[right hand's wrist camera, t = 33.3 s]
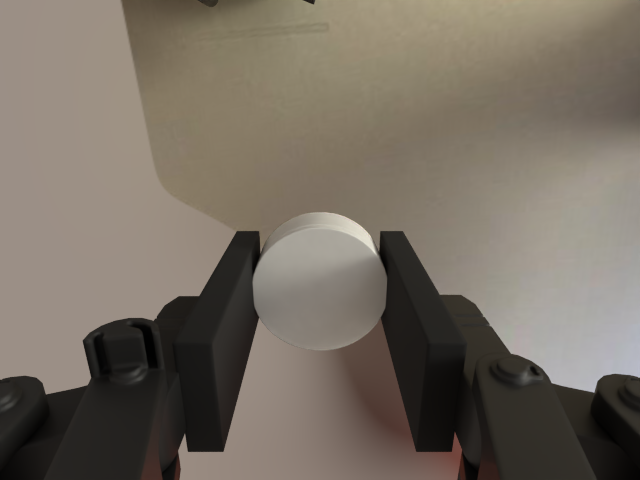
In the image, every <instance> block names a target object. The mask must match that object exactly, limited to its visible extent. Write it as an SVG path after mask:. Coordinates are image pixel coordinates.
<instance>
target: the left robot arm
mask: <svg viewBox="0 0 640 480" xmlns="http://www.w3.org/2000/svg"><path fill="white" fill-rule="evenodd" d="M198 1H200V2H202V3H203V4H205V5H207V6H209V7H213V6H215V5H216V4H217V2H218V0H198ZM304 1H306V2H309V3H311V4H314V2H315V0H304Z"/></svg>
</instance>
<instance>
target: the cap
mask: <svg viewBox="0 0 640 480" xmlns="http://www.w3.org/2000/svg"><path fill="white" fill-rule="evenodd" d="M386 291H387V274H386V271H385V268H384V265H383V262H382V259H381V257H380V254H379V251H378V249H377V246H376V244H375V242H374V241H373V239H372V238H371V236H370V235H369V234H368V233H367V232H366V230H365V229H363V228H362V227H361V226H360V225H359V224H357V223H356V222H354V221H352V220H351V219H348V218H346V217H344V216H341V215H338V214H334V213H328V212H312V213H306V214H302V215H299V216H296V217H294V218H292V219H290V220H288V221H286V222H285V223H283V224H281V225H280V226H279V227H278V228H277V229H276V230H275V231H274V232H273V233H272V234H271V235H270V236H269V238H268V239H267V241H266V242H265V244H264V247H263V249H262V251H261V254H260V257H259V260H258V262H257V265H256V268H255V271H254V274H253V296H254V307H255V309H256V312H257V314H258V316H259V318H260V319H261V321H262V322H263V324H264V325H265V326H266V327H267V328H268V329H269V330H270V331H271V332H272V333H273V334H274V335H275V336H277V337H278V338H279V339H281V340H283V341H284V342H286V343H288V344H291V345H293V346H296V347H299V348H303V349H308V350H319V351H321V350H332V349H337V348H341V347H344V346H347V345H349V344H352V343H354V342H356V341H357V340H359V339H361V338H362V337H363V336H365V335H366V334H367V333H368V332H369V331H371V330H372V329H373V327H374V326H375V325H376V324H377V322H378V321H379V319H380V318H381V316H382V314H383V312H384V310H385V306H386Z"/></svg>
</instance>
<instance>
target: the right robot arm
mask: <svg viewBox="0 0 640 480" xmlns="http://www.w3.org/2000/svg"><path fill="white" fill-rule="evenodd" d="M379 254H380V257H381V259H382V262H383V265H384V268H385V271H386V274H387V291H386V306H385V310H384V312H383V314H382V316H381V320H382V324H383V328H384V332H385V335H386V339H387V343H388V347H389V350H390V354H391V358H392V362H393V366H394V369H395V373H396V377H397V381H398V384H399V388H400V392H401V396H402V400H403V403H404V407H405V411H406V415H407V418H408V422H409V426H410V430H411V434H412V437H413V441H414V445H415V449H416V451H417V452H452V447H453V440H454V433H456V435H457V438H458V440H459V443H460V445H461V448H462V454H461V461H460V467H459V473H458V480H640V378H638V377H635V376H631V375H621V374H612V375H606V376H603V377H602V378H601V379H600V380H599V381H598V382H597V386H596V389H595V393H593V392H588V391H583V390H578V389H573V388H568V387H564V386H560V385H556V384H552V383H551V381H550V379H549V377H548V376H547V374H546V373H545V372H544V371H543V369H542V368H540V367H539V366H538V365H536V364H535V363H533V362H532V361H530V360H528V359H525V358H523V357H521V356H518V355H514V354H511V353H510V352H509V350H508V349H507V348H506V346H505V345H504V344H503V342H502V341H501V339H500V338H499V337H498V335H497V334H496V332H495V331H494V330H493V328H492V327H491V326H490V325H489V323H488V321H487V320H486V319H485V317H483V314H482V313H481V312H480V310H479V309H478V307H477V306H476V305H475V304H474V303H473V302H471V301H469V300H468V299H466V298H465V297H463V296H462V295H439V293H438V291H437V290H436V288H435V286H434V284H433V283H432V281H431V279H430V277H429V276H428V274H427V272H426V271H425V269H424V267H423V265H422V264H421V262H420V260H419V259H418V257H417V255H416V253H415V252H414V250H413V248H412V246H411V245H410V243H409V241H408V240H407V238H406V236H405V234H404V233H403V231H380V249H379ZM259 257H260V236H259V231H237V232H236V234H235V236H234V237H233V239H232V241H231V243H230V244H229V246H228V248H227V249H226V251H225V253H224V255H223V256H222V258H221V260H220V261H219V263H218V265H217V267H216V268H215V270H214V272H213V274H212V275H211V277H210V279H209V280H208V282H207V284H206V286H205V287H204V289H203V291H202V293H201V294H200V296H179V297H177V298H176V299H174V300H173V301H171V302H170V303H168V304H166V305H165V306H164V307H163V309H162V310H161V312H160V313H159V314H158V316H157V319H155V320H154V321H152V320H148V319H144V318H127V319H122V320H117V321H113V322H111V323H108V324H105V325H102V326H100V327H99V328H97V329H95V330H94V331H92V332H90V333H89V334H88V335H87V336H86V338H85V339H84V340H83V344H84V348H85V353H86V357H87V361H88V366H89V370H90V374H91V380H90V382H89V384H88V385H87V386H83V387H80V388H76V389H71V390H66V391H61V392H56V393H52V394H47V395H46V394H45V390H44V387H43V383H42V382H41V381H39V380H38V379H37V378H35V377H29V376H18V377H10V378H5V379H2V380H0V480H179V478H180V470H181V469H180V461H179V454H178V449H179V447H180V444H181V442H182V439H183V437H184V434H185V435H186V442H187V448H188V452H223V451H224V448H225V444H226V440H227V436H228V432H229V429H230V425H231V421H232V417H233V414H234V410H235V406H236V402H237V399H238V395H239V391H240V387H241V383H242V380H243V376H244V372H245V368H246V365H247V361H248V357H249V353H250V350H251V346H252V342H253V338H254V334H255V331H256V327H257V323H258V319H259V316H258V314H257V312H256V309H255V307H254V296H253V274H254V271H255V268H256V265H257V262H258V260H259Z"/></svg>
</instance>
